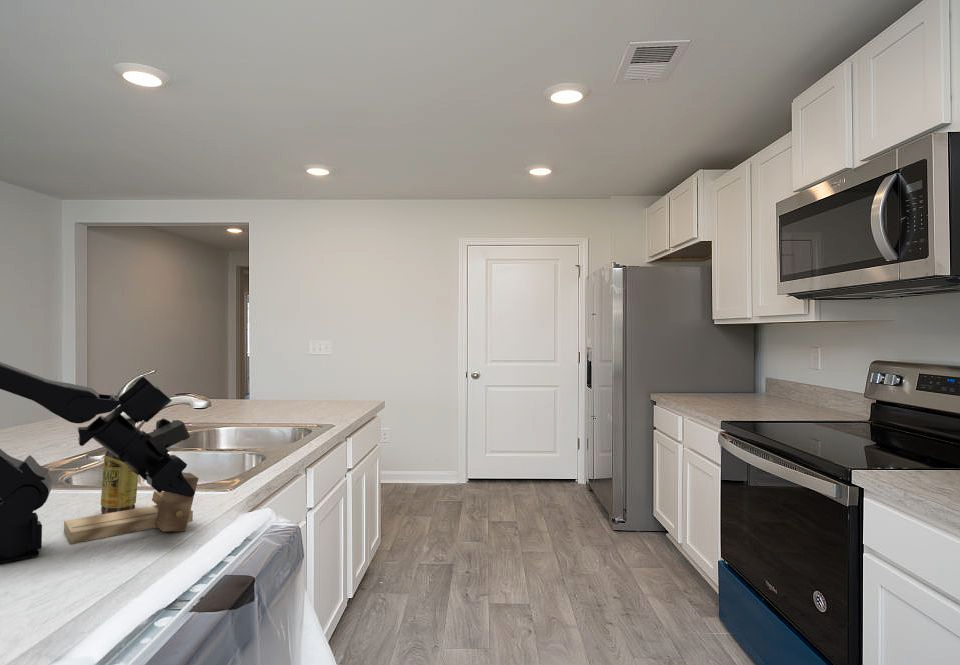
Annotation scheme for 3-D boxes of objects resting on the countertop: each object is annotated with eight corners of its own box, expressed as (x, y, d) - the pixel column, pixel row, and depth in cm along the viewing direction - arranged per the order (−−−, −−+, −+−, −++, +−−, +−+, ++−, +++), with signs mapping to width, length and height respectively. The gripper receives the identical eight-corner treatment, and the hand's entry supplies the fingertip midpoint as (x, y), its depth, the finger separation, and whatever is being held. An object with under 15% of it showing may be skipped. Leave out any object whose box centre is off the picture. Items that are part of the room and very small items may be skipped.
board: (70, 543, 101) (70, 532, 101) (63, 531, 106) (64, 520, 106) (192, 520, 114) (192, 510, 114) (180, 510, 120) (180, 500, 120)
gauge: (163, 532, 105) (177, 477, 106) (142, 511, 116) (155, 462, 118) (186, 532, 108) (199, 478, 109) (163, 512, 119) (176, 463, 120)
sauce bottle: (93, 512, 117) (99, 415, 117) (125, 505, 122) (130, 412, 123) (110, 518, 114) (116, 419, 114) (142, 511, 119) (147, 416, 119)
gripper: (175, 413, 100) (237, 467, 108) (148, 402, 114) (205, 450, 122) (122, 464, 95) (191, 517, 103) (100, 445, 109) (162, 494, 116)
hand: (188, 491), depth 111 cm, fingers closed on gauge, 5 cm apart
